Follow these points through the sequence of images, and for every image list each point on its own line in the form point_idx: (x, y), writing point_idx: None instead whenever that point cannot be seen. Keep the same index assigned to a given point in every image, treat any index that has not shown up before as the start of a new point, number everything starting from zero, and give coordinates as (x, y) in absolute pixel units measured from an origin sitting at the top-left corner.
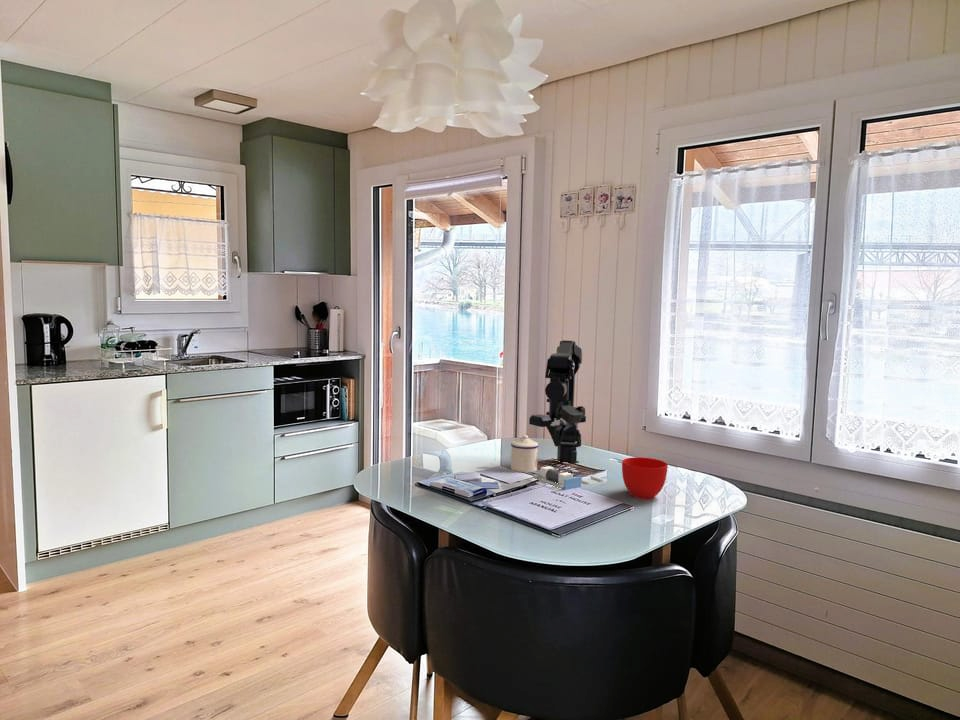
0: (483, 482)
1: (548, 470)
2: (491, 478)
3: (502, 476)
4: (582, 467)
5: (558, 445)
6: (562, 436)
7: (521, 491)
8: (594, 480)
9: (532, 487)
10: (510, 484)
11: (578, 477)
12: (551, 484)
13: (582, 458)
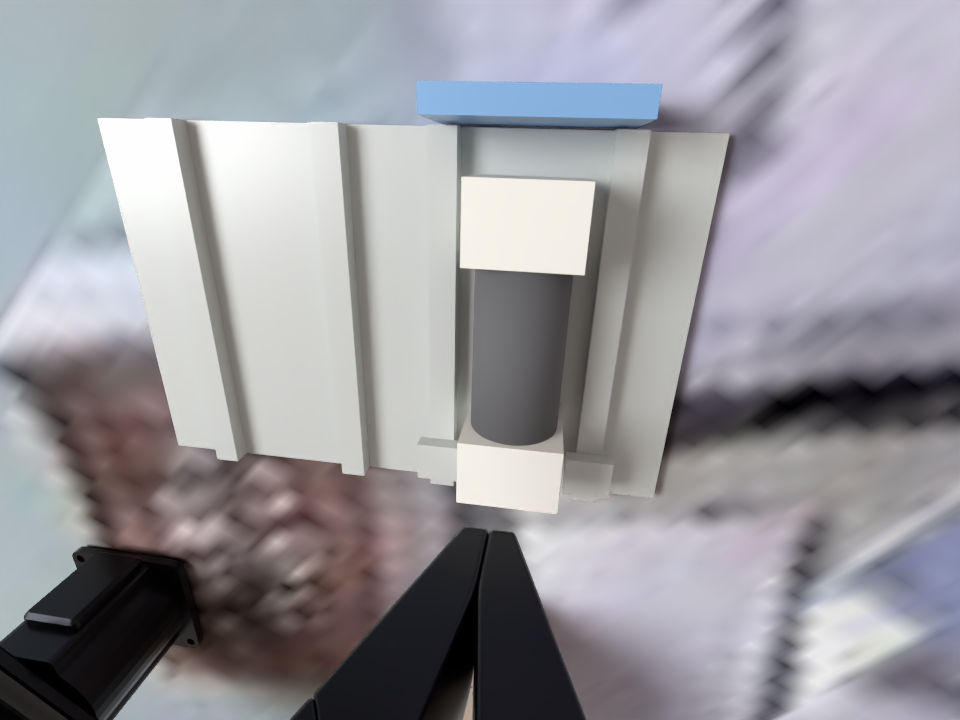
0: (928, 621)
1: (535, 437)
2: (795, 643)
3: (697, 631)
4: (105, 483)
5: (485, 537)
6: (343, 690)
7: (952, 323)
8: (212, 184)
9: (769, 353)
10: (828, 496)
11: (457, 87)
12: (623, 289)
13: (16, 591)
